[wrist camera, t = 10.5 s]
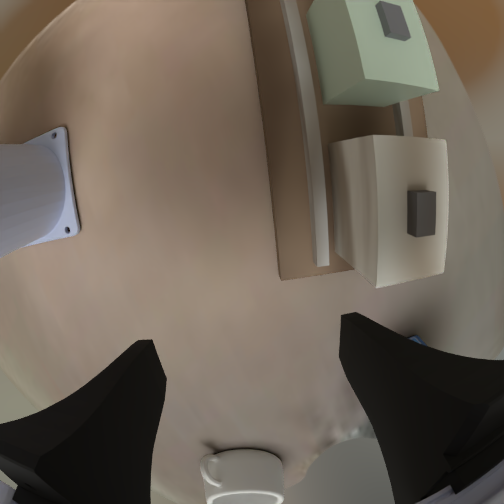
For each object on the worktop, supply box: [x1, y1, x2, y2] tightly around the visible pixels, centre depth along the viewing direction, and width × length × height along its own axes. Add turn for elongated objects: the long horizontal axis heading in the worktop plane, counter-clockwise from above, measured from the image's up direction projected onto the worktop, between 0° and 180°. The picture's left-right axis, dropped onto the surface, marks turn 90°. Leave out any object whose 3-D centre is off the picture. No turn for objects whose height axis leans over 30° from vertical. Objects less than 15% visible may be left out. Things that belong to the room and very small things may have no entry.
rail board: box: [245, 0, 449, 288], centre depth 12 cm, size 12×22×8 cm, turn 7°
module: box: [306, 0, 439, 107], centre depth 11 cm, size 4×7×7 cm, turn 7°
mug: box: [200, 449, 284, 504], centre depth 23 cm, size 12×10×6 cm
